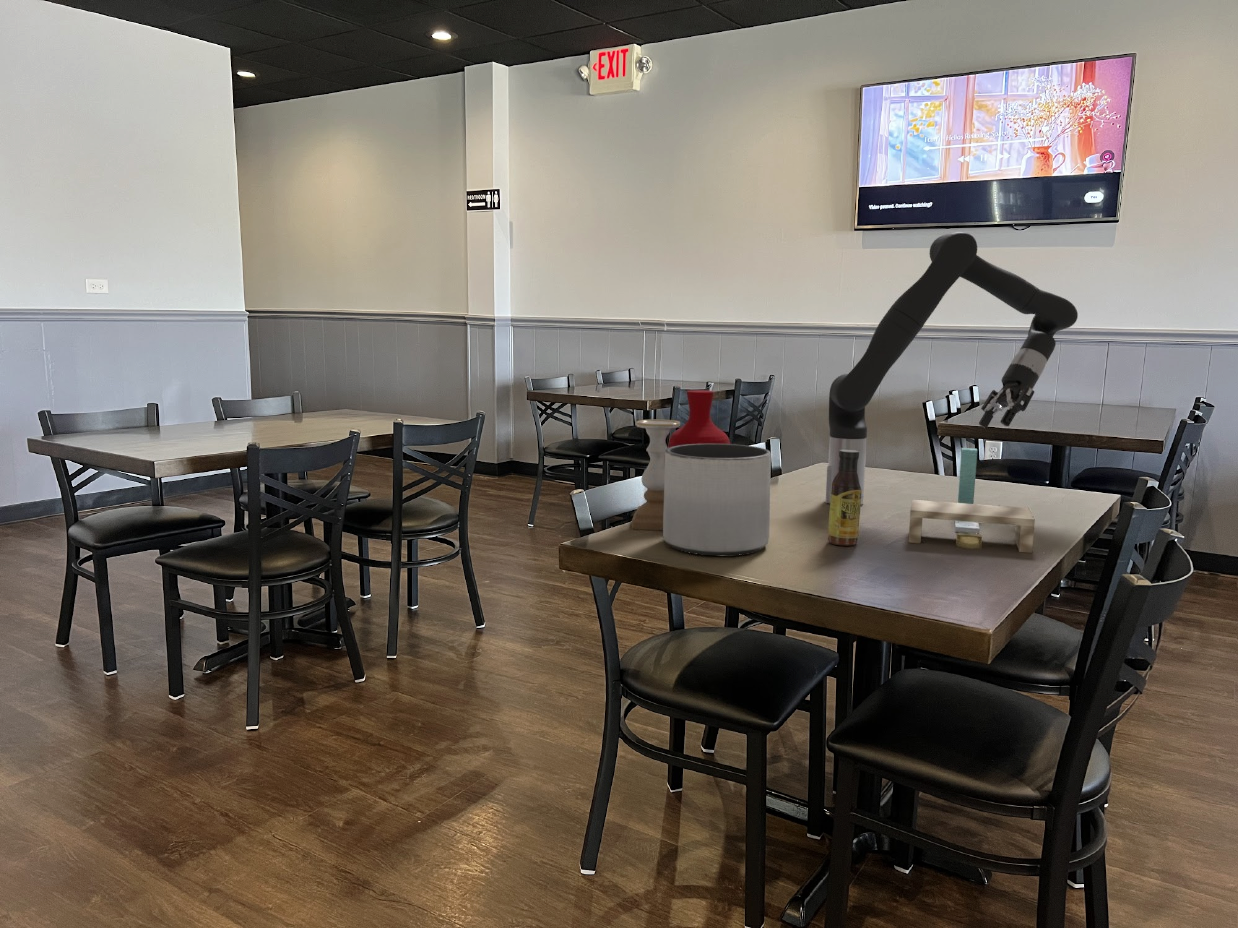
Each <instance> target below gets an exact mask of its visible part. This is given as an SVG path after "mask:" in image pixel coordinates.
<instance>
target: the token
mask: <svg viewBox="0 0 1238 928" xmlns="http://www.w3.org/2000/svg"><path fill="white" fill-rule="evenodd" d="M982 545H983V535H982V534H980V533H979V534H976V533H969V532H961V533H960V532H956V540H955V546H956V547H959V548H962V549H967V550H979V549H982Z"/></svg>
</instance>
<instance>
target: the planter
mask: <svg viewBox="0 0 1238 928" xmlns="http://www.w3.org/2000/svg"><path fill="white" fill-rule="evenodd" d="M771 465H772V452H771V451H770V450H769V449H766V448H763V447H758V446H752V445H745V444H736V443H730V444H687V445H678V446H673V447H670V448H667V449H666V450H665V482H664V513H663V531H662V535H663V541H664V542H665V543H666V544H668V546H670V547H671V548H673V549H675V550H677V549H678V550H677V551H679V550H682V551H681V552H683V551H686V552H690V553H689V554H691V553H697V554H703V555H702V556H705V555H737V556H740V555H739V554H745V555H748V554H747V553H750V554H753V553H756V552H758V551H760V550H762V549H763V548H765V547H767V545H768V543H769V539H770V522H771V520H770V517H771V516H770V515H771V512H770V511H771V470H772V469H771ZM755 551H756V552H755ZM686 552H685V553H686ZM752 552H753V553H752ZM697 554H696V555H697Z"/></svg>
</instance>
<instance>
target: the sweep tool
mask: <svg viewBox="0 0 1238 928" xmlns="http://www.w3.org/2000/svg"><path fill="white" fill-rule="evenodd" d="M960 448H961V450H960V463H959V478H958V480H959V481H958V493H957V503H966V504H975V502H974V500H975V486H976V474H977V461H978V449H977V448H973V447H971V448H967V447H960ZM953 521H954V520H953ZM979 523H980V522H967V521H954V532H955V533H961V532H969V533H977V534H980V525H979Z"/></svg>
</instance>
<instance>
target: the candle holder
mask: <svg viewBox="0 0 1238 928" xmlns="http://www.w3.org/2000/svg"><path fill="white" fill-rule="evenodd" d="M635 426H636V427H637V428H642V429H645V431H646V434H647V435H648V437H649V444H648V446H647V448H646V452H647V453H648V456H649V458H650V459H649V460H650V461H649V463H648V465H647V467H646V468H645V470H644V471H643V473H642V476H641V484H642V486H644V487H645V488H646V489H647V490H646V491H645V492H644V493H643V498H644V500H645V501H646V502H645V503H643V504H641V505H640V506H638V507H637V508H636V511H635V512H634V514H633V516H632V519H631V530H636V531H638V530H639V531H661V530H663V513H664V482H665V450H666V449H667V448H668V447H669V446H668V445H667V443H666V439H667V436H668V435H669V434H670V432H671V429H677V428H681V426H682V425H681V421H679V420H674V419H653V418H652V419H640V420H636V421H635Z"/></svg>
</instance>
